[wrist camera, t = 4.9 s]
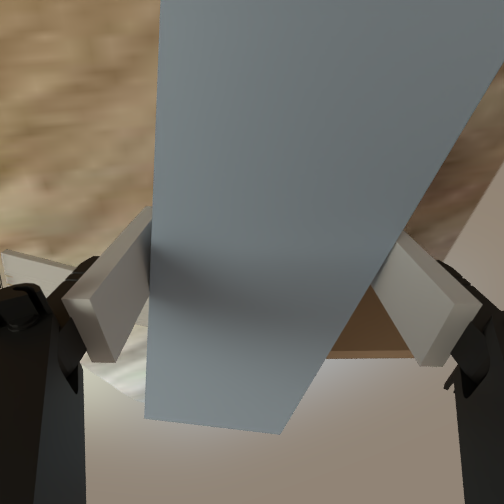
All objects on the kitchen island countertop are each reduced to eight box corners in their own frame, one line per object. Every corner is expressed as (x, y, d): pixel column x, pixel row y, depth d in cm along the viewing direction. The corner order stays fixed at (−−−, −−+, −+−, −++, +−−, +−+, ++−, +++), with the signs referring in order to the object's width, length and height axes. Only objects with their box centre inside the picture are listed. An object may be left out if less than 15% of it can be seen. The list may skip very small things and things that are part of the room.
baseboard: (208, 341, 46) (224, 301, 41) (205, 355, 43) (222, 315, 38) (17, 298, 41) (8, 246, 35) (2, 312, 38) (-9, 258, 33)
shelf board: (164, 357, 21) (144, 418, 17) (219, -228, 7) (182, -579, 3) (275, 373, 22) (280, 434, 18) (499, -111, 8) (709, -281, 5)
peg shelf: (289, 279, 38) (305, 358, 27) (317, -72, 20) (398, -271, 9) (374, 278, 37) (424, 357, 26) (477, -76, 20) (764, -281, 9)
